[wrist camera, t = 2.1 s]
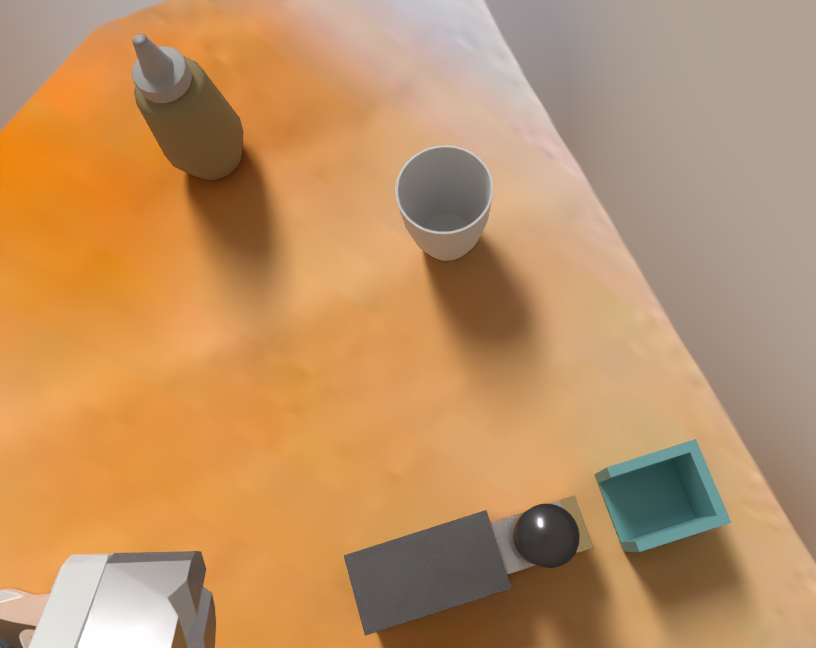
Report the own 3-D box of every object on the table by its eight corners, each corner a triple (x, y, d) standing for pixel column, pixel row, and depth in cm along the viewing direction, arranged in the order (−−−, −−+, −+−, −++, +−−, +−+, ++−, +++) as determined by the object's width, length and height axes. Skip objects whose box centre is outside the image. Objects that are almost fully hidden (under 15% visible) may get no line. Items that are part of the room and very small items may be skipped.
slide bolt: (388, 610, 61) (366, 629, 47) (374, 560, 62) (348, 564, 48) (585, 547, 61) (618, 548, 47) (567, 498, 62) (595, 485, 49)
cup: (466, 185, 72) (465, 130, 63) (505, 253, 70) (510, 207, 60) (391, 220, 72) (379, 170, 62) (428, 290, 69) (421, 250, 60)
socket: (623, 551, 61) (639, 552, 56) (594, 474, 63) (606, 467, 58) (706, 524, 62) (731, 522, 56) (675, 448, 63) (695, 439, 58)
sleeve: (374, 627, 61) (364, 635, 56) (355, 554, 63) (343, 555, 57) (507, 584, 61) (511, 588, 56) (484, 513, 63) (486, 510, 57)
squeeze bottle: (236, 199, 74) (166, 94, 56) (163, 180, 75) (73, 72, 58) (264, 130, 76) (205, 8, 59) (193, 113, 77) (114, -11, 60)
